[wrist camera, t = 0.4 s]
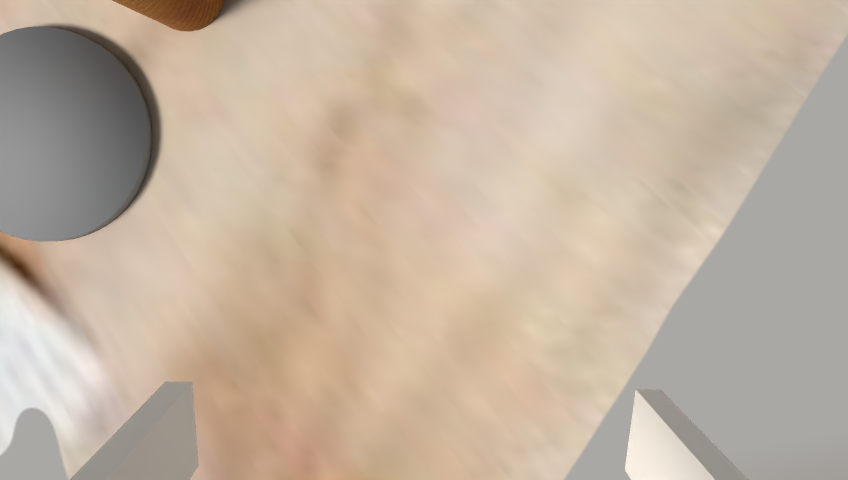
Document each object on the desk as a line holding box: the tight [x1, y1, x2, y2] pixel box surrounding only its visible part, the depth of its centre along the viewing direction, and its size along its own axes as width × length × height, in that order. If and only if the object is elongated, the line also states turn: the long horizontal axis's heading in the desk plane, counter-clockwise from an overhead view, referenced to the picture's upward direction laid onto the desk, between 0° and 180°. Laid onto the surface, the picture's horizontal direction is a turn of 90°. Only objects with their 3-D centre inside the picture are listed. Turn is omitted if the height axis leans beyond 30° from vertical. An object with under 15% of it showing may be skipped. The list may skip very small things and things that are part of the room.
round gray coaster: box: [0, 27, 152, 241], centre depth 40 cm, size 17×17×1 cm
